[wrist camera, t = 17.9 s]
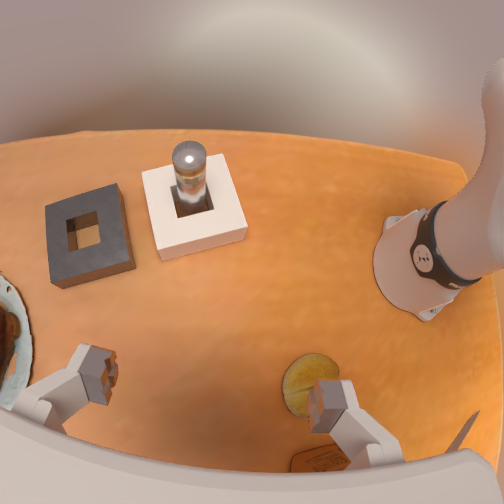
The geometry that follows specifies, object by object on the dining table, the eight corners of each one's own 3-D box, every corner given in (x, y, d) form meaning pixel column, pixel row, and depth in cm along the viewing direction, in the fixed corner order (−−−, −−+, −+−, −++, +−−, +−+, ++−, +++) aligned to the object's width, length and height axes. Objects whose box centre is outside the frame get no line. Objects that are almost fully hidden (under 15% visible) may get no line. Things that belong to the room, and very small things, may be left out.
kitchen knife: (468, 408, 43) (479, 408, 40) (470, 411, 43) (482, 411, 40) (399, 506, 34) (409, 510, 32) (402, 508, 34) (413, 513, 31)
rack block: (221, 171, 49) (222, 153, 44) (243, 239, 46) (247, 226, 41) (146, 189, 47) (141, 172, 42) (162, 261, 43) (157, 250, 39)
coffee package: (363, 490, 36) (449, 546, 15) (286, 504, 34) (341, 588, 14) (368, 436, 39) (468, 471, 18) (288, 446, 37) (355, 512, 17)
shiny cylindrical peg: (202, 199, 47) (201, 137, 33) (208, 221, 46) (210, 163, 32) (178, 205, 46) (169, 144, 32) (184, 227, 45) (175, 171, 31)
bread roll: (332, 349, 43) (344, 348, 39) (339, 408, 40) (350, 412, 36) (277, 358, 42) (283, 358, 38) (283, 419, 39) (291, 425, 35)
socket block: (122, 196, 46) (116, 183, 42) (135, 268, 42) (129, 260, 39) (55, 216, 43) (45, 206, 39) (62, 289, 40) (50, 282, 36)
